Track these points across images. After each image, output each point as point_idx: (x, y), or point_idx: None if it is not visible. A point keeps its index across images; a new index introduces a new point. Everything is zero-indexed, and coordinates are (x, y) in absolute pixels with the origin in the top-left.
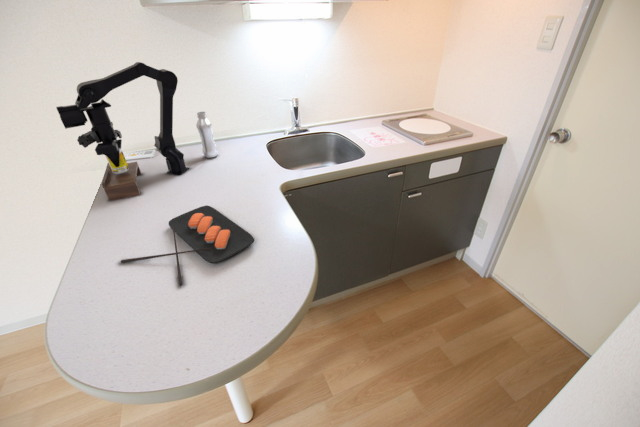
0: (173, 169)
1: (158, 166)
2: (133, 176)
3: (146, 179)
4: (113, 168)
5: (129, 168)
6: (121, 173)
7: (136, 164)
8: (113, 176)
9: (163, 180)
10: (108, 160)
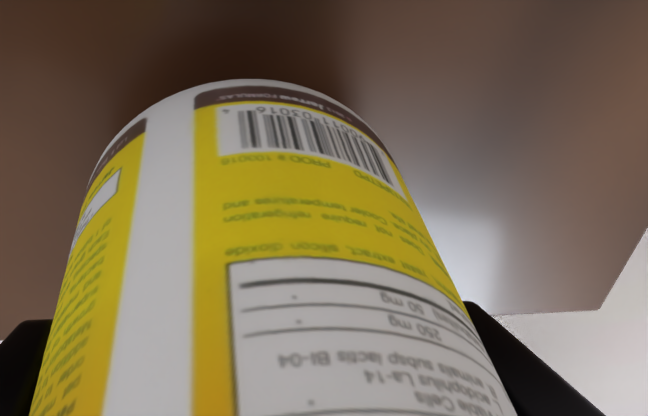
0: None
1: (567, 313)
2: (12, 322)
3: None
4: (94, 214)
5: None
6: None
7: (493, 314)
8: (164, 30)
9: None
10: (109, 381)
